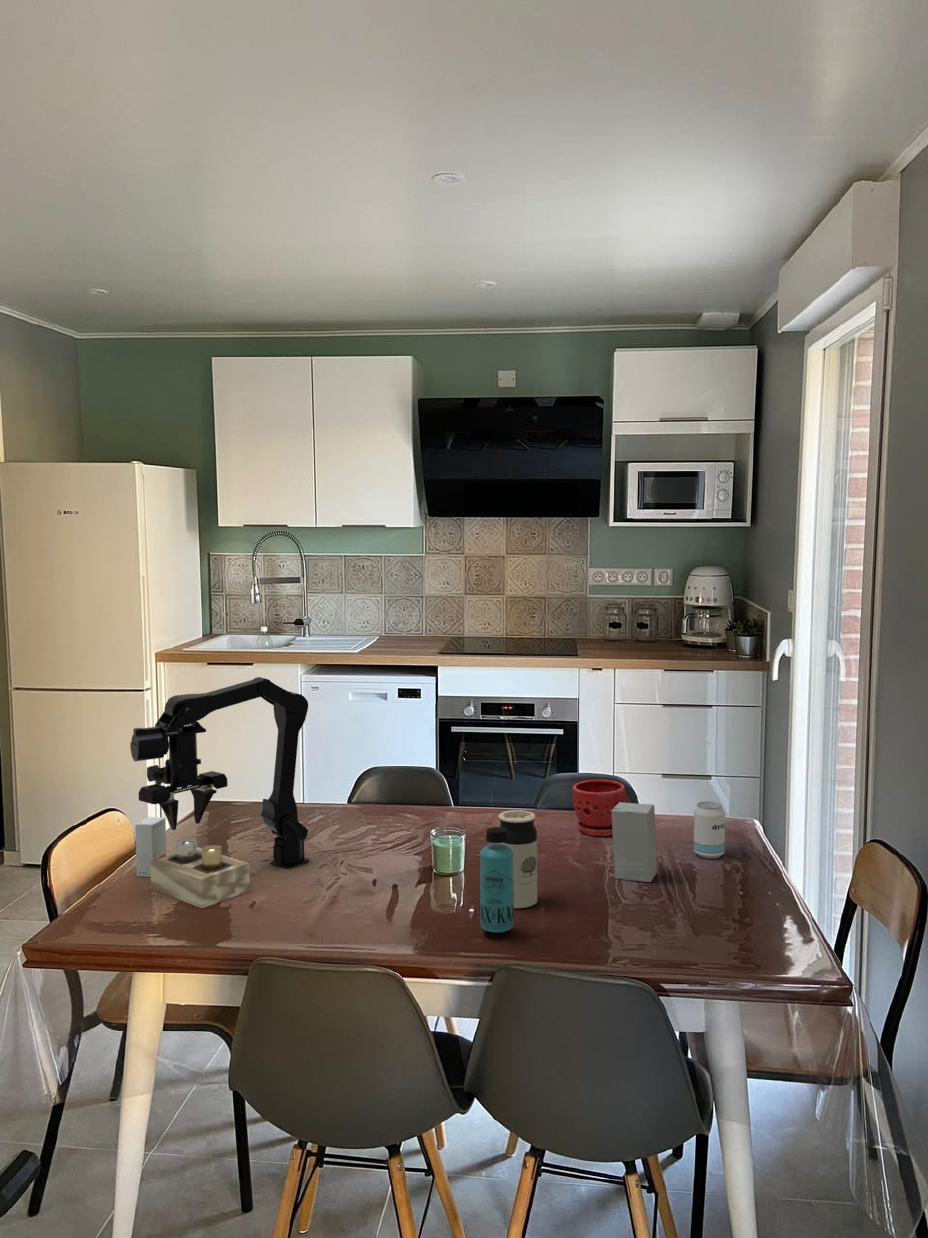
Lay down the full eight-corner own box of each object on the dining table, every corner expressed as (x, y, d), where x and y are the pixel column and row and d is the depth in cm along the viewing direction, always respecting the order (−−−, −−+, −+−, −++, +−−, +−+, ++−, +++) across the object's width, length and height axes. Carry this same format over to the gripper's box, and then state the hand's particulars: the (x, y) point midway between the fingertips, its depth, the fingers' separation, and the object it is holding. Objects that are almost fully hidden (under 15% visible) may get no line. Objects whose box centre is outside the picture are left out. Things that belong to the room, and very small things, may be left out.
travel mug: (491, 898, 190) (490, 812, 189) (526, 892, 193) (525, 807, 192) (508, 912, 183) (507, 822, 181) (544, 905, 186) (543, 817, 184)
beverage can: (713, 862, 210) (713, 810, 209) (687, 855, 215) (688, 804, 214) (730, 855, 214) (730, 805, 214) (704, 848, 220) (705, 799, 219)
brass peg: (214, 867, 196) (213, 844, 196) (226, 870, 194) (225, 847, 194) (198, 872, 193) (197, 848, 193) (210, 876, 191) (209, 852, 190)
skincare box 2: (657, 874, 203) (657, 803, 202) (649, 885, 196) (649, 812, 195) (619, 869, 206) (619, 799, 205) (611, 879, 200) (610, 807, 199)
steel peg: (189, 858, 202) (188, 836, 202) (200, 862, 200) (199, 839, 199) (173, 863, 199) (172, 840, 199) (184, 867, 196) (183, 844, 196)
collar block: (198, 873, 207) (197, 847, 207) (249, 891, 196) (248, 863, 195) (151, 889, 198) (150, 861, 197) (201, 908, 186) (200, 879, 186)
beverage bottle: (478, 927, 175) (476, 824, 174) (512, 925, 176) (511, 822, 174) (481, 941, 169) (480, 834, 167) (517, 940, 169) (516, 833, 168)
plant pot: (588, 821, 243) (587, 776, 243) (633, 829, 236) (633, 783, 235) (563, 833, 233) (563, 786, 232) (610, 842, 225) (610, 794, 224)
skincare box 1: (153, 878, 205) (151, 825, 204) (136, 876, 205) (134, 824, 205) (167, 868, 211) (165, 817, 210) (150, 867, 211) (148, 816, 211)
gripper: (197, 743, 210) (199, 810, 211) (122, 757, 195) (125, 830, 196) (228, 749, 203) (230, 819, 204) (152, 765, 188) (155, 840, 189)
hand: (185, 826), depth 199 cm, fingers open, 6 cm apart
